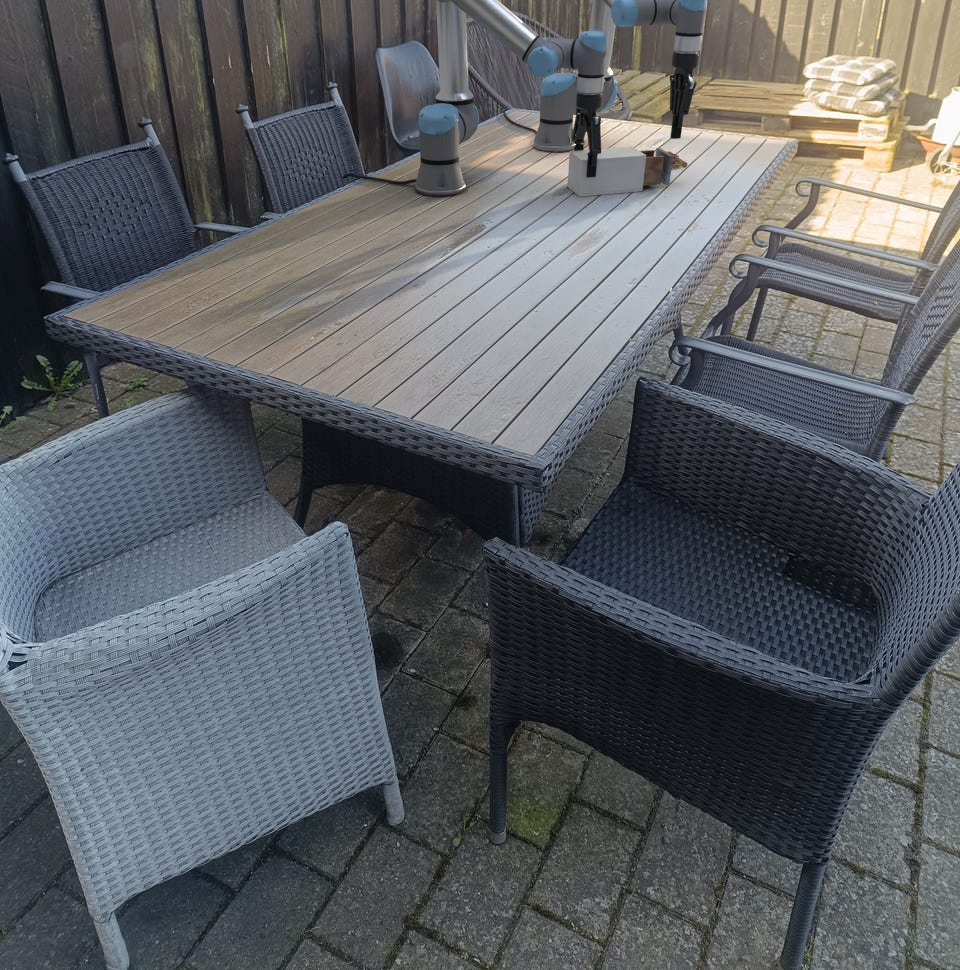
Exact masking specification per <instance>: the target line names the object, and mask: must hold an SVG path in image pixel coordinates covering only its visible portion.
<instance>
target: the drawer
mask: <svg viewBox="0 0 960 970" xmlns="http://www.w3.org/2000/svg"><path fill="white" fill-rule="evenodd" d="M639 151H640V152H642V153H643V154H645V155H646V162H645V172H644V181H643V187H644V186H654V185H655V186H657V185H661V184H662V185H664V186H670V185H671V183H670V182H671V175H672V168H676V167H675V166H680V167H681V168H683V169H686V168H687V167H688V166H689V165H688V161H685V160H683V159H682V158H680V157H679V158H678V157H676V158H675V159H673V155H671V154H669V153H667V152H668V151H666V150H664V149H662V148H660V147H657V148H656V150H654V149H649V150H647V149H646V150H639ZM672 162H675V163H677V164H672Z"/></svg>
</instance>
